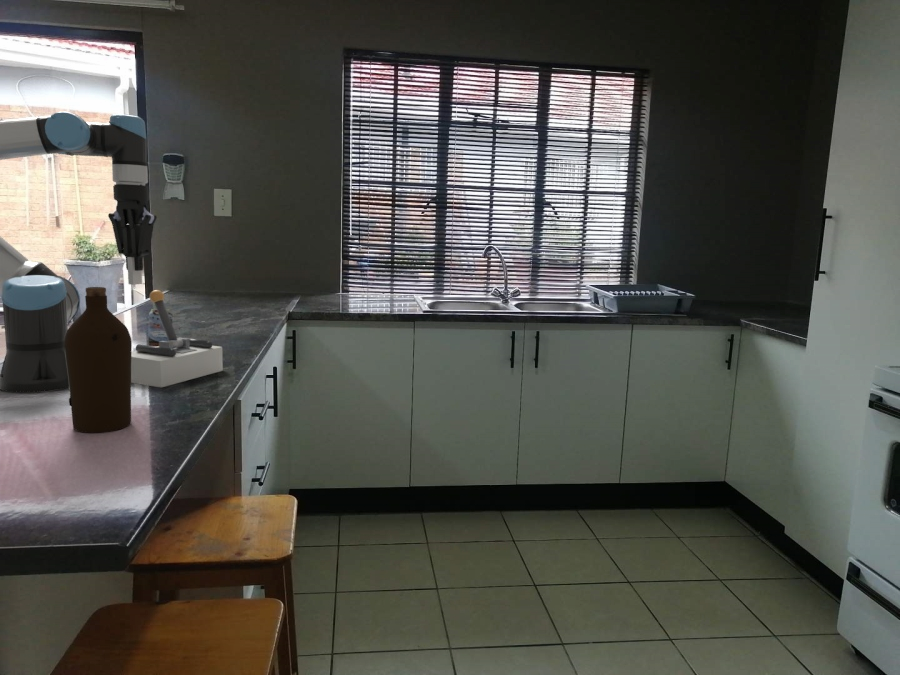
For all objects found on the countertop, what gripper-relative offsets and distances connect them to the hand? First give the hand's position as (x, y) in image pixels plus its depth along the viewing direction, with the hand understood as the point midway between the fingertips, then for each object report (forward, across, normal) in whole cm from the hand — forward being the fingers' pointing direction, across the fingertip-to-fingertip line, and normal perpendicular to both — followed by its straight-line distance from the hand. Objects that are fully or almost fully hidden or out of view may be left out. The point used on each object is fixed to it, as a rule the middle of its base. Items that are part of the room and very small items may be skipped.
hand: (135, 284), depth 164 cm
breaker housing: (+21, -12, 0) cm, 24 cm away
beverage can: (+21, +12, -19) cm, 31 cm away
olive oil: (+21, -30, +37) cm, 52 cm away
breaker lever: (+14, -12, 0) cm, 18 cm away
